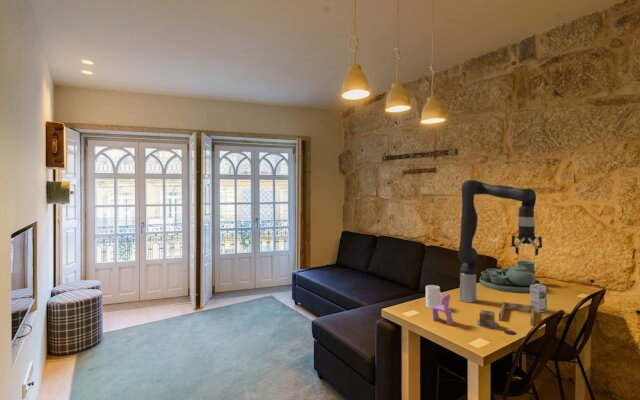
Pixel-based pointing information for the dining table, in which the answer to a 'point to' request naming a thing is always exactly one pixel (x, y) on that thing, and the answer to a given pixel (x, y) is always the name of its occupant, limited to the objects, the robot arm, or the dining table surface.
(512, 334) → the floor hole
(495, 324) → the slate coaster
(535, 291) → the syrup box
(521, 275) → the tea set
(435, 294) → the mug
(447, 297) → the toy chair
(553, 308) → the dining table surface
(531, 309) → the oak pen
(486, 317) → the walnut block
